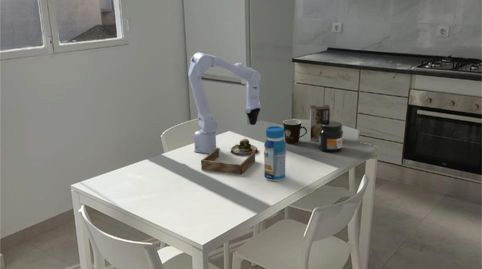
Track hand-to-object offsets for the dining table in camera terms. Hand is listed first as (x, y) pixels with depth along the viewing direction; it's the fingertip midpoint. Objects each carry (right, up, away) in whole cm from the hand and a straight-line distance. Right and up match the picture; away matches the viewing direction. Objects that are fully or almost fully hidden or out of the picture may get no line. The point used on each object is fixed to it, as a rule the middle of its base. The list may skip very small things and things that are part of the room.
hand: (253, 124), depth 215 cm
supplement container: (+35, -12, -7) cm, 37 cm away
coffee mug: (+19, -9, +2) cm, 21 cm away
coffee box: (+32, -7, +7) cm, 34 cm away
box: (-11, -18, -23) cm, 31 cm away
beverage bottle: (+7, -22, -37) cm, 43 cm away
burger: (-4, -13, -8) cm, 16 cm away
